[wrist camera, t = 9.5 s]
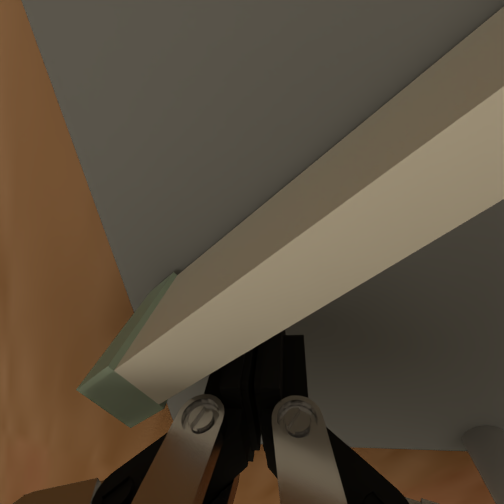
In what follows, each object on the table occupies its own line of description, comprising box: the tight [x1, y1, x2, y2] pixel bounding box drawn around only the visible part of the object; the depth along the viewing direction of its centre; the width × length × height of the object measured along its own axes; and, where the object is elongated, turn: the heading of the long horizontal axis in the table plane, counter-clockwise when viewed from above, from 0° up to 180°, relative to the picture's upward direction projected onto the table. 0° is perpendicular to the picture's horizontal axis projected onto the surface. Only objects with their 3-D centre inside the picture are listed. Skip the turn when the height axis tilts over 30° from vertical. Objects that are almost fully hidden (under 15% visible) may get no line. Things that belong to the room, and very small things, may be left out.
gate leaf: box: [76, 7, 504, 428], centre depth 7 cm, size 2×19×5 cm, turn 132°
